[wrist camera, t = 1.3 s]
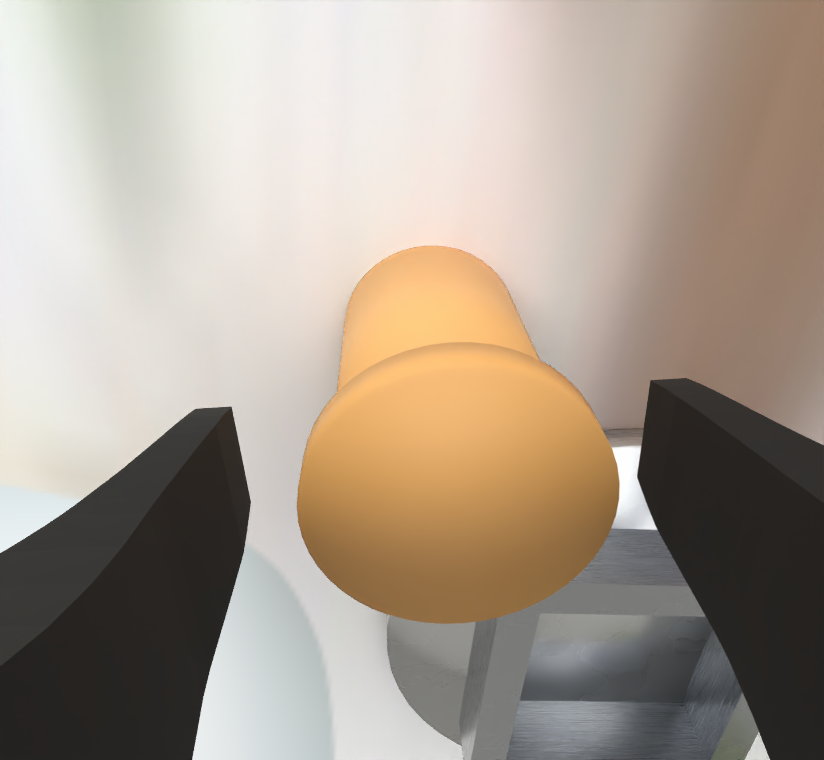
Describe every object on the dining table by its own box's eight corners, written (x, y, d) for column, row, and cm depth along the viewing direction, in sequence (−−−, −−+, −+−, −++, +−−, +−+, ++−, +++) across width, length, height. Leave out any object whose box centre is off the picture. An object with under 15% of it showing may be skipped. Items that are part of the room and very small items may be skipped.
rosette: (1113, 448, 18) (1256, 532, 15) (909, 743, 25) (983, 843, 22) (401, 418, 17) (406, 505, 14) (376, 739, 23) (375, 846, 20)
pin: (547, 234, 15) (654, 376, 9) (515, 418, 17) (584, 626, 11) (329, 221, 14) (295, 359, 9) (325, 411, 17) (297, 621, 11)
